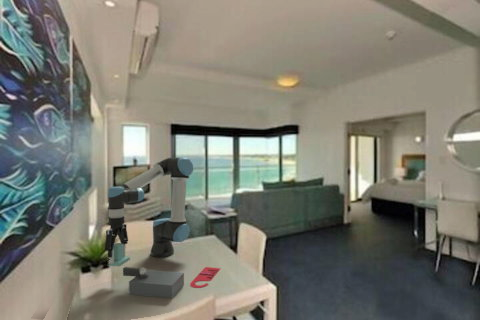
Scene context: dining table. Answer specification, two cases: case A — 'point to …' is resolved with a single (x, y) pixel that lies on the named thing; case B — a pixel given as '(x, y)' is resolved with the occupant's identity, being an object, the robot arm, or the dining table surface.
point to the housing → (157, 284)
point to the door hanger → (204, 276)
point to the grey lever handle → (134, 272)
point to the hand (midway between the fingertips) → (117, 259)
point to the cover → (119, 255)
